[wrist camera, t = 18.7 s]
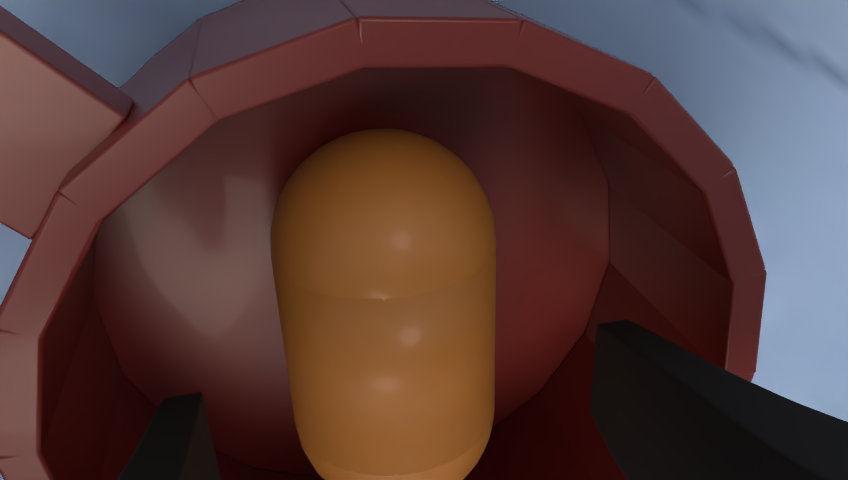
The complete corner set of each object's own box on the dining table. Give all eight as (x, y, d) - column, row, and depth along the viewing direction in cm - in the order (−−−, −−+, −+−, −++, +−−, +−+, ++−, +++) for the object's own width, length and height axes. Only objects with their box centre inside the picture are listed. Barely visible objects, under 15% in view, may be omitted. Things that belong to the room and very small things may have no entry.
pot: (454, 578, 23) (512, 757, 18) (-203, 266, 15) (-411, 450, 10) (773, 271, 21) (935, 387, 16) (207, -317, 12) (192, -444, 7)
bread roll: (462, 402, 20) (521, 529, 16) (297, 433, 19) (316, 576, 15) (457, 91, 16) (533, 159, 12) (250, 113, 15) (260, 193, 11)
